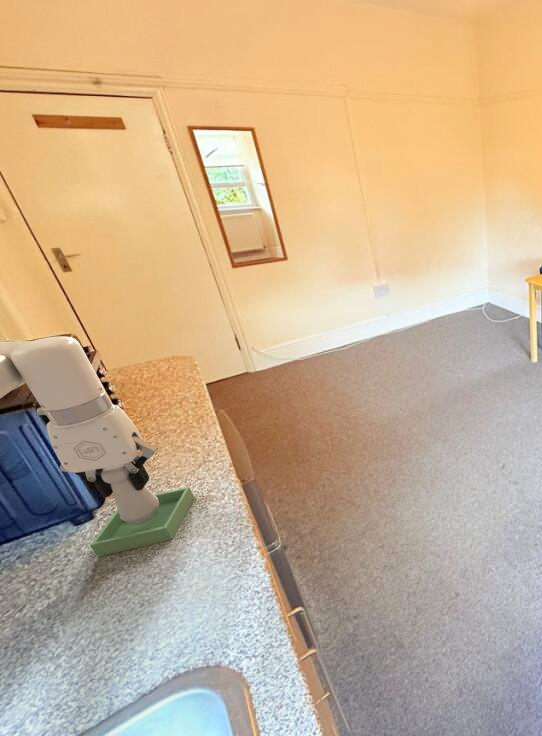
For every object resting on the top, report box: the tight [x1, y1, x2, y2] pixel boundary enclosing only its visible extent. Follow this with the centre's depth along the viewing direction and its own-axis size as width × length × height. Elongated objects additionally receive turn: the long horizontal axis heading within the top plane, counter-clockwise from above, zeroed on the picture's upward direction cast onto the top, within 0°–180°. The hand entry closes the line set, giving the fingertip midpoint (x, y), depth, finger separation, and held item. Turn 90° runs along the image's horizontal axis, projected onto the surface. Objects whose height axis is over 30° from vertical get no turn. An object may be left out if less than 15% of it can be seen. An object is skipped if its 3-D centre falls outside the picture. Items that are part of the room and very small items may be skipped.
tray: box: [89, 486, 196, 558], centre depth 79 cm, size 12×11×3 cm
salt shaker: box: [101, 464, 159, 525], centre depth 75 cm, size 6×6×13 cm
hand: (127, 487), depth 75 cm, fingers closed on salt shaker, 4 cm apart
